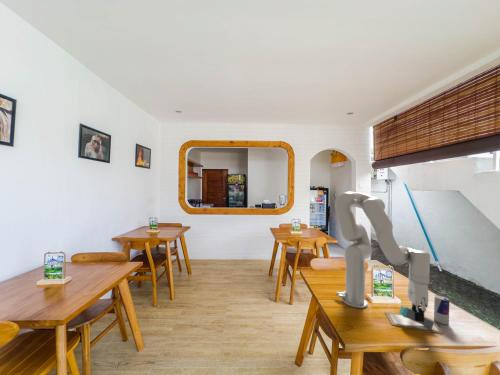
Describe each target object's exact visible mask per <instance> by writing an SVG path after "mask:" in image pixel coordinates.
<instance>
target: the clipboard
mask: <svg viewBox="0 0 500 375" xmlns="http://www.w3.org/2000/svg"><path fill="white" fill-rule="evenodd" d="M384 314H385V316H386V318H387V319H388V321H389V324H390V325H391V326H394V327H395V326H396V327H399V328H406V329H412V330H419V331H421V332H422V331H424V332H429V333H435V334H441V335H445V332H444V331H443V330H442V329H441V328H440V327H439V325H438V324H436V323H435V322H434V319H431V320H432V321H433V322H434V324H433V326H432V329H430V328H428V327H426V326H424V325H422V324H420V323H418V322H415V321H413V320H411V319H409V318H407V317H404V316H402V315H401V314H400V313H399V314H397V313H393V312H386V311H385V312H384Z"/></svg>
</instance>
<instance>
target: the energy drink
mask: <svg viewBox="0 0 500 375" xmlns="http://www.w3.org/2000/svg"><path fill="white" fill-rule="evenodd" d="M433 303H434V304H433V307H434V308H433V321H434V322H435V324H436V325H437V326H440V327H445V328H446V327H449V325H450V299H449V298H448V297H446V296H443V295H438V294H437V295H435V296H434V302H433Z"/></svg>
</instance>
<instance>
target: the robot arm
mask: <svg viewBox="0 0 500 375" xmlns="http://www.w3.org/2000/svg"><path fill="white" fill-rule="evenodd" d="M355 207H356V208H359V209H362V210H363V213H364V214H365V216H366V217H367V219H368V221H369V222H370V224H371V226H372V228H373V229H374V232H375V236H376V240H377V243H378V245H379V247H380V249H381V251H382V252H383V254H384V256H385V258H386V259H387V260H388V262H390V263H391V264H393V265H395V266H401V265H404V264H405V263H408V265H409V266H408V285H407V286H408V287H407V298H408V300H409V301H410V303H411V309H412V310H413V311H414V312H415V320H416V321H420V322H424V316H425V312H427V308H428V307H429V284H430V272H431V271H430V269H431V255H430V252H428V251H426V250H422V249H414V248H411V247H407V246H404V245H398V243H397V241H396V239H395V237H394V233H393V226H394V225H393V223H392V221H391V220H390V217H389V216H388V215H387V213H386V211H385V209H386V205H385V202H384V201H383V199H381V198H378V197H375V196H371V195H369V194H366V193H362V192H357V191H345V192H342V193H340V194H339V195H338V196H337V197H336V199H335V201H334V211H335V214H336V217H337V221H338V225H339V227H340V231H341V234H342V238H343V240H345V241H347V242H352V243H351V244H349V245H348V246H347V247H346V248H345V251H344V256H345V290H344V291H342V292H340V291H335V295H336V296H337V297H338V298H341V301H342V302H343V304H345V305H347V306H349V307H352V308H355V309H365V308H367V307H368V304H369V303H368V301H367V300H366V299H365V295H366V294H365V293H366V291H365V290H366V265H365V260H367V259H369V258H370V257H371V255H372V254H373V249H372V245H371V242H370V241H371V240H370V238H369V236H368V232H367V230H366V228H365V226H364V225H363V224H362V223H358V222H356V219H355V215H354V213H353V212H352V209H351V208H355Z"/></svg>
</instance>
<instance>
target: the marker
mask: <svg viewBox="0 0 500 375" xmlns="http://www.w3.org/2000/svg"><path fill="white" fill-rule="evenodd" d="M399 314H400V315H402V316H404V317H407V318H409V319H411V320H413V321H415V322H418V323H420V324H422V325H424V326H426V327H428V328H430V329H432V326H433V324H434V322H433V321H434V320H433V319H431V318H429V317H427V316H425V315H424V322H420V321H416V320H415V312H414V311H413V310H412V308H410V307H407V306H404V305H401V306H400V309H399ZM432 320H433V321H432Z"/></svg>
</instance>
